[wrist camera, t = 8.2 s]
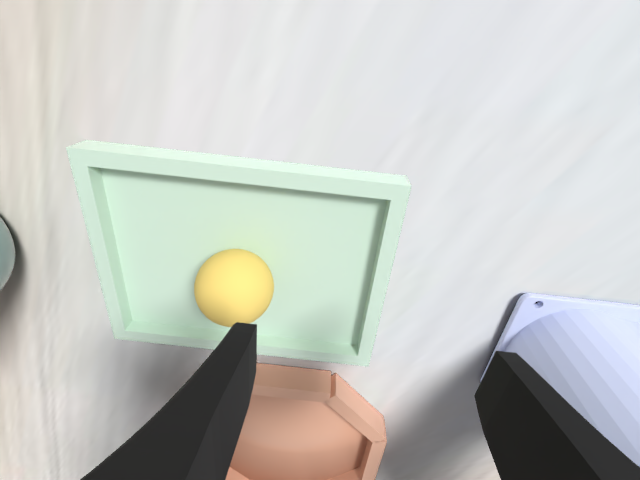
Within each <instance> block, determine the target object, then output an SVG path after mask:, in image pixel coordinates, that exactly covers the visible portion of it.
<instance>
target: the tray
mask: <svg viewBox="0 0 640 480" xmlns="http://www.w3.org/2000/svg"><path fill="white" fill-rule="evenodd" d="M66 149H67V153H68V157H69V161H70V165H71V169H72V173H73V177H74V181H75V185H76V189H77V193H78V197H79V201H80V205H81V209H82V213H83V216H84V220H85V224H86V228H87V232H88V236H89V240H90V244H91V248H92V252H93V256H94V260H95V264H96V268H97V272H98V276H99V280H100V284H101V288H102V292H103V296H104V300H105V303H106V307H107V311H108V315H109V319H110V323H111V327H112V331H113V335H114V339H121V340H130V341H139V342H148V343H157V344H166V345H176V346H185V347H194V348H203V349H212V350H215V348H216V347H217V346H218V345H219V343H220V342H221V341H222V339H223V338H224V337H225V335H226V334H227V333H228V331H229V330H230V328H231V327H226V326H221V325H218V324H216V323H214V322H212V321H211V320H209V319H208V318H207V317H206V316H205V315H204V314H203V313H202V312H201V310H200V309H199V307H198V305H197V303H196V300H195V295H194V283H195V279H196V276H197V273H198V271H199V269H200V268H201V266H202V265H203V264H204V262H205V261H206V260H207V259H209V258H210V257H211V256H213V255H214V254H216V253H218V252H221V251H223V250H228V249H243V250H247V251H250V252H252V253H254V254H256V255H258V256H259V257H260V258H261V259H262V260H263V261H264V262H265V263H266V264H267V266H268V267H269V269H270V271H271V273H272V276H273V281H274V293H273V297H272V300H271V303H270V305H269V307H268V308H267V310H266V311H265V312H264V313H263V314H262V316H260V317H259V318H258V319H257V320H255V321H254V322H252V323H250V324H257V354H258V355H267V356H276V357H285V358H295V359H304V360H313V361H322V362H331V363H340V364H350V365H359V366H368V367H369V362H370V358H371V354H372V350H373V346H374V341H375V337H376V333H377V329H378V325H379V320H380V316H381V312H382V308H383V304H384V299H385V295H386V291H387V287H388V283H389V279H390V274H391V270H392V266H393V262H394V258H395V253H396V249H397V245H398V241H399V237H400V232H401V228H402V224H403V220H404V216H405V211H406V207H407V203H408V199H409V195H410V191H411V184H410V182H409V180H408V178H407V176H405V175H396V174H387V173H378V172H369V171H360V170H352V169H343V168H334V167H325V166H316V165H307V164H298V163H289V162H280V161H271V160H262V159H253V158H244V157H235V156H226V155H218V154H209V153H200V152H191V151H182V150H173V149H164V148H155V147H146V146H137V145H128V144H119V143H110V142H101V141H92V140H85V141H82V142H79V143H77V144H74V145H71V146H68V147H66Z"/></svg>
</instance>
